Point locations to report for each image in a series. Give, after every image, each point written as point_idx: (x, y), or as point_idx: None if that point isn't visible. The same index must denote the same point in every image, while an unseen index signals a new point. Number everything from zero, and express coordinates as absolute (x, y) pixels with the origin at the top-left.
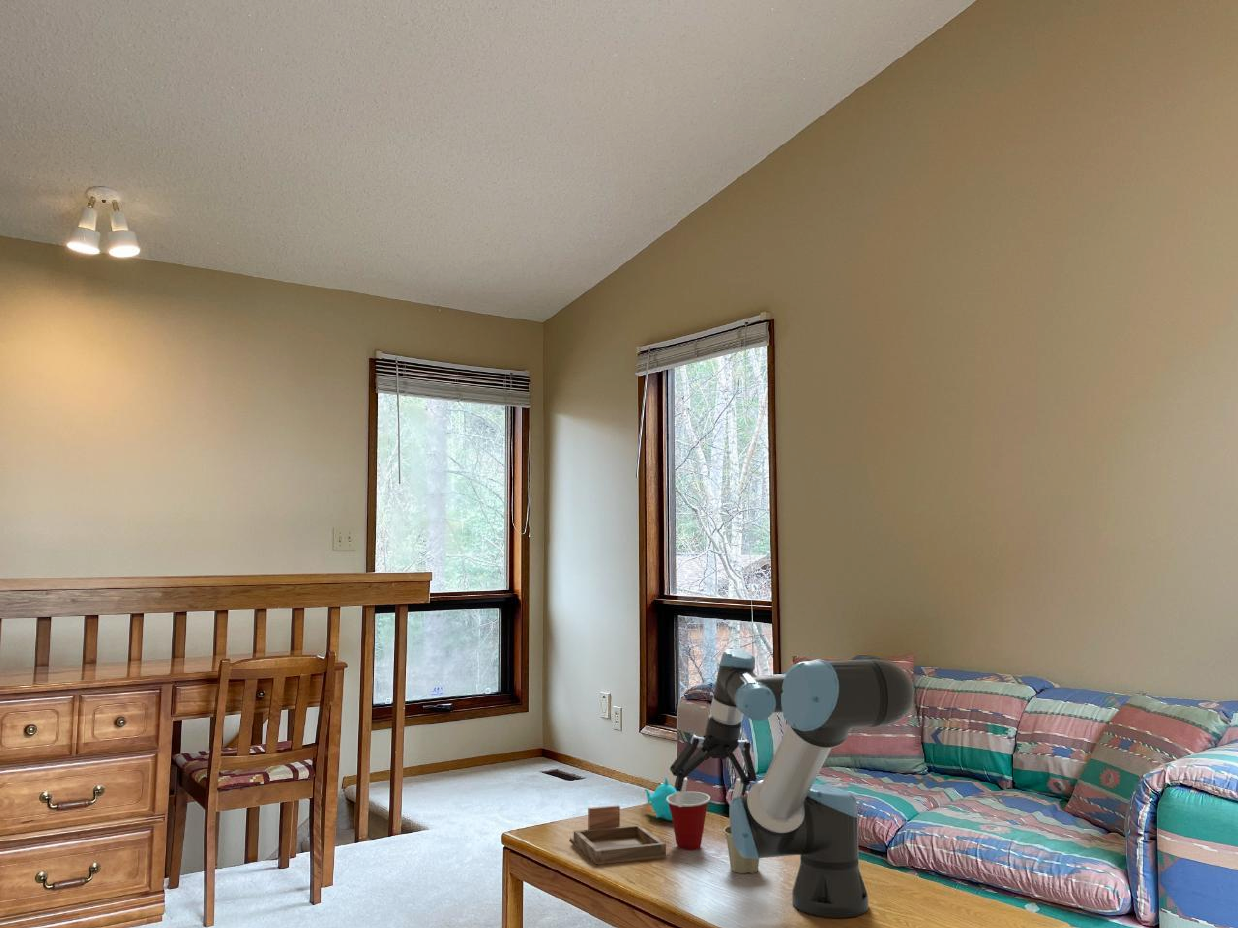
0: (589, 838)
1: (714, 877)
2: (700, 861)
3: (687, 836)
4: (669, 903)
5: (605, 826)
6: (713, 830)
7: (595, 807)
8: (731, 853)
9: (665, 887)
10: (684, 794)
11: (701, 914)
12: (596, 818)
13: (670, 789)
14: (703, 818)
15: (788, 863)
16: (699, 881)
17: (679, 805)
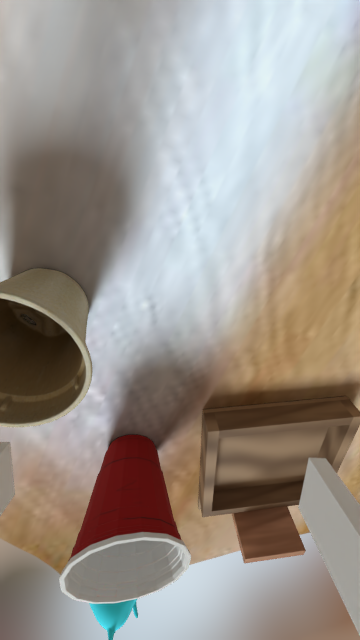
0: (294, 486)
1: (155, 265)
2: (143, 374)
3: (143, 458)
4: None
5: (260, 514)
6: (52, 508)
7: (290, 555)
8: (83, 316)
9: (311, 229)
10: (352, 525)
11: None
12: (283, 529)
13: (108, 615)
14: (97, 501)
15: None
16: (207, 246)
17: (326, 463)
